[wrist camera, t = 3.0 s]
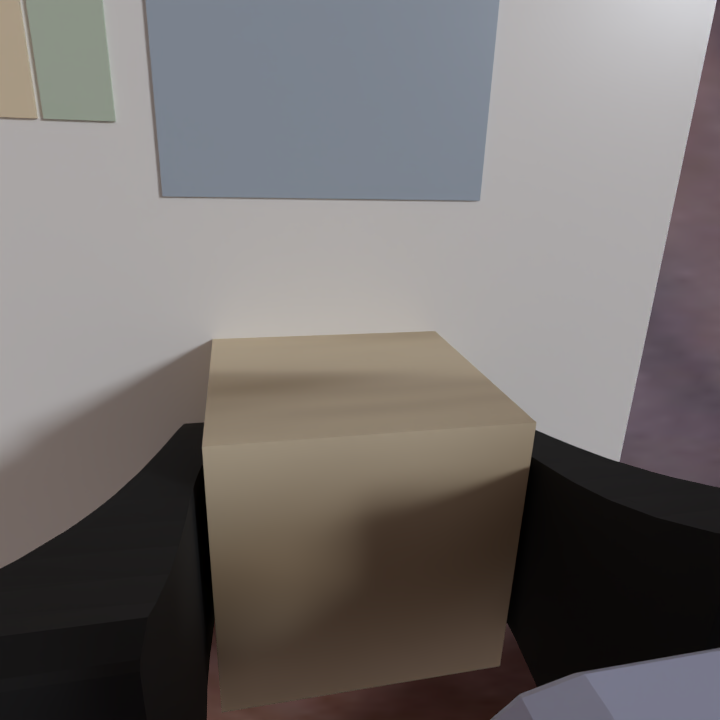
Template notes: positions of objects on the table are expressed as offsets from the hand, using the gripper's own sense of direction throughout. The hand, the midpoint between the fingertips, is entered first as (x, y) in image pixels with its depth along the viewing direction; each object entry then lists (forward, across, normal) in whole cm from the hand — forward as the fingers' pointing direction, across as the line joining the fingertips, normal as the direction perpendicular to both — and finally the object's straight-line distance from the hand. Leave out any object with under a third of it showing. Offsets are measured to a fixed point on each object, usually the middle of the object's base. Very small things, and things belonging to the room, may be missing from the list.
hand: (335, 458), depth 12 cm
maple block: (+1, 0, 0) cm, 1 cm away
